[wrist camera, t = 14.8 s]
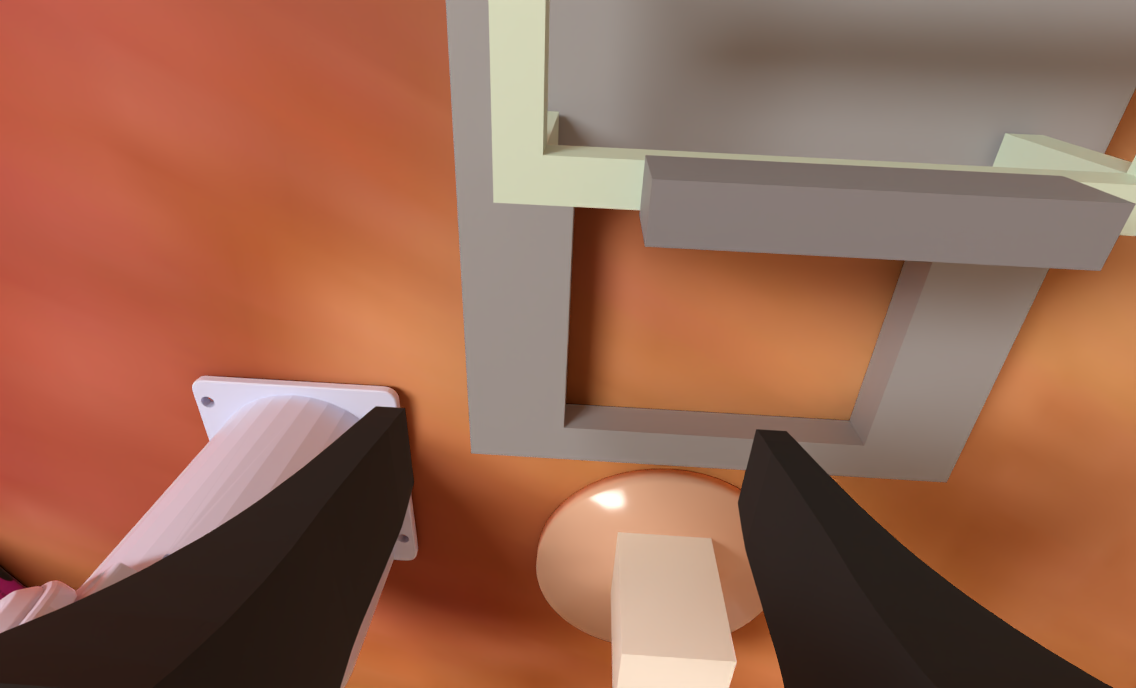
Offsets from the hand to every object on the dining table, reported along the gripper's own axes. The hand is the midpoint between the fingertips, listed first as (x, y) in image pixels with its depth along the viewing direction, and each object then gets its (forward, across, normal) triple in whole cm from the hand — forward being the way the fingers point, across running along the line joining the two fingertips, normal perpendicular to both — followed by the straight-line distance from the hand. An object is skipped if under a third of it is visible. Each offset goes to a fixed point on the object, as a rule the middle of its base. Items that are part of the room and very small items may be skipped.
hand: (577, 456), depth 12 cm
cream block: (+9, -4, +14) cm, 16 cm away
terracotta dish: (+9, -4, +14) cm, 17 cm away
